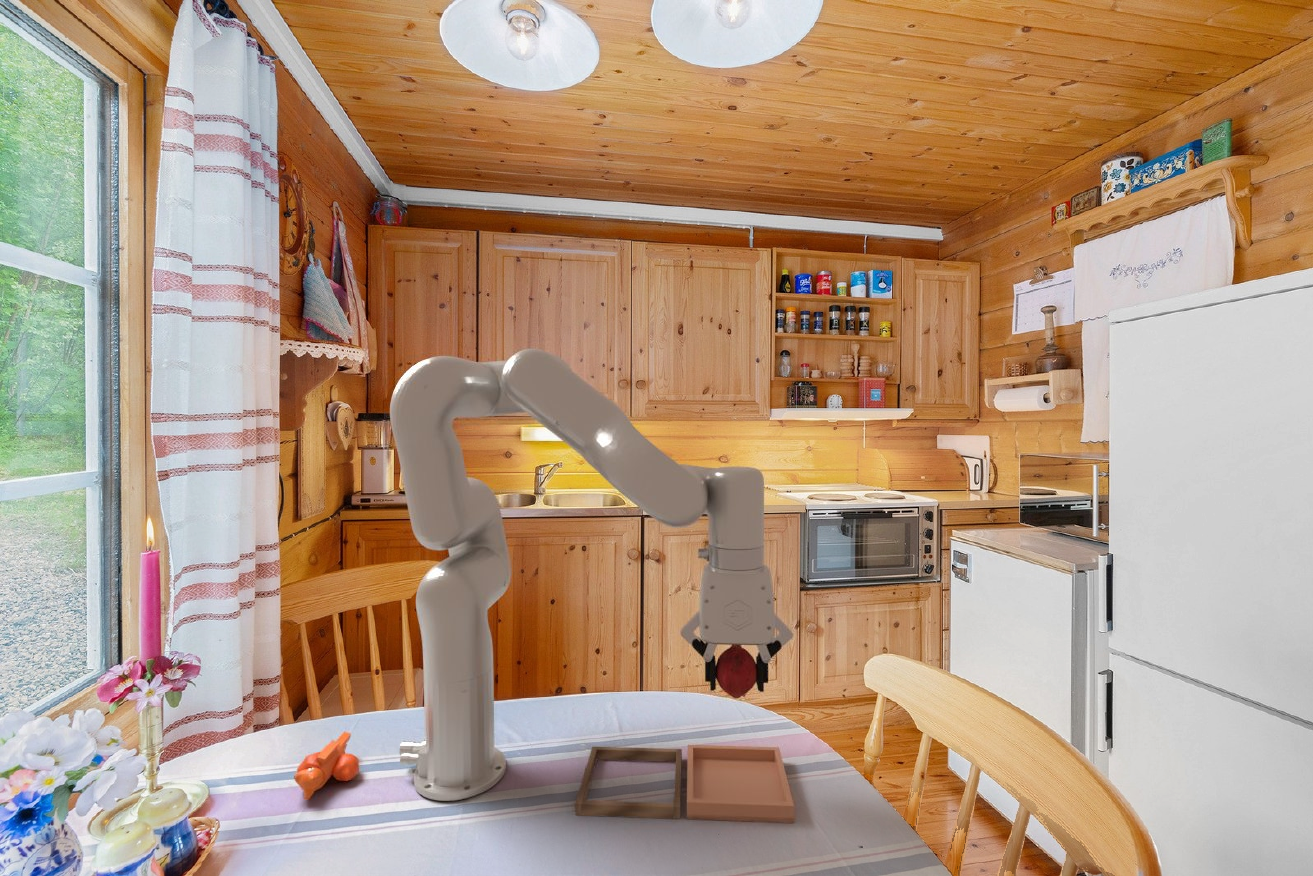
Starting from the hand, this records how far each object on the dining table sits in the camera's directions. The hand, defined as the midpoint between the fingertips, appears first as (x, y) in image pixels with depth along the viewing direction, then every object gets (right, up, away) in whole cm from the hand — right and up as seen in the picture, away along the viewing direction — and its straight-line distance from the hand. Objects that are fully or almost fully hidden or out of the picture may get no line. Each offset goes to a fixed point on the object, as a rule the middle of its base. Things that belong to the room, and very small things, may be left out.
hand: (736, 685), depth 83 cm
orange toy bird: (-57, -15, +3) cm, 59 cm away
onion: (0, -2, 0) cm, 2 cm away
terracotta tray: (0, -14, +1) cm, 14 cm away
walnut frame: (-14, -15, +1) cm, 20 cm away
